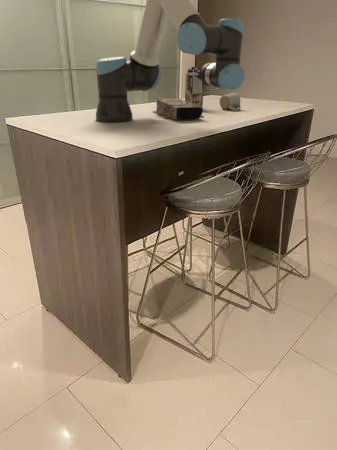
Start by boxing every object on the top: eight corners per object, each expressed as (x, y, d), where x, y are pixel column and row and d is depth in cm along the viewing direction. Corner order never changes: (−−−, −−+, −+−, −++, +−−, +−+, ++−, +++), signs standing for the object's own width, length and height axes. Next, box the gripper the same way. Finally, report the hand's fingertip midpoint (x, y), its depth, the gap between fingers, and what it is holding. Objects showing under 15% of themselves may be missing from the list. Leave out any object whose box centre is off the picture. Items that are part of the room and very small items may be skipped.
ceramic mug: (217, 108, 173) (219, 92, 170) (229, 107, 177) (231, 92, 174) (232, 112, 166) (234, 95, 162) (244, 110, 170) (246, 94, 166)
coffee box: (203, 109, 172) (204, 74, 165) (191, 109, 170) (192, 74, 163) (195, 106, 180) (196, 73, 173) (184, 107, 178) (185, 73, 171)
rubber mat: (165, 118, 145) (165, 117, 144) (152, 111, 162) (152, 110, 161) (204, 117, 150) (204, 116, 149) (188, 110, 167) (188, 109, 166)
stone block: (176, 103, 136) (156, 96, 152) (174, 121, 139) (154, 112, 155) (204, 105, 142) (182, 99, 158) (201, 123, 145) (179, 114, 161)
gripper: (195, 87, 116) (173, 81, 136) (230, 86, 119) (203, 81, 140) (196, 62, 112) (174, 61, 133) (232, 62, 116) (204, 61, 136)
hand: (189, 71), depth 136 cm, fingers closed
